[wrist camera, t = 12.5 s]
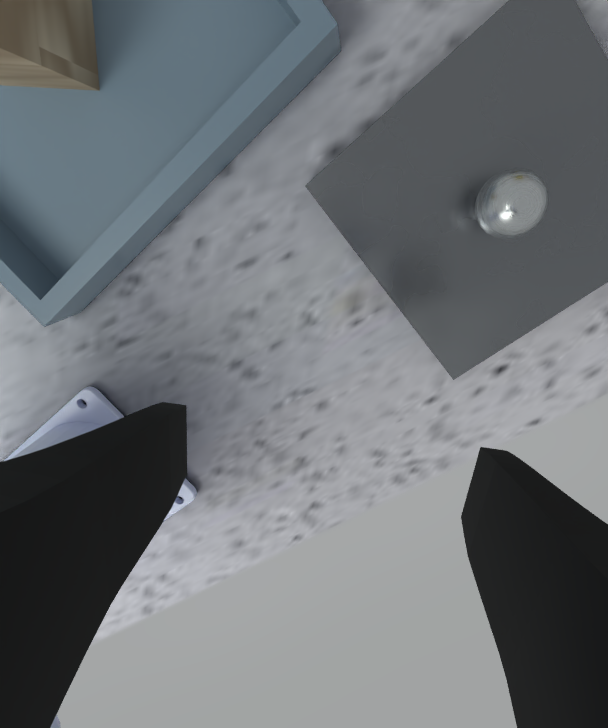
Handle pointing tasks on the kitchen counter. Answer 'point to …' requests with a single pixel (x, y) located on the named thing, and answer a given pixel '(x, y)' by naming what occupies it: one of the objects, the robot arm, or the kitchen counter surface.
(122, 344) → the kitchen counter surface
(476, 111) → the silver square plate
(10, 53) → the strut
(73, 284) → the bin
